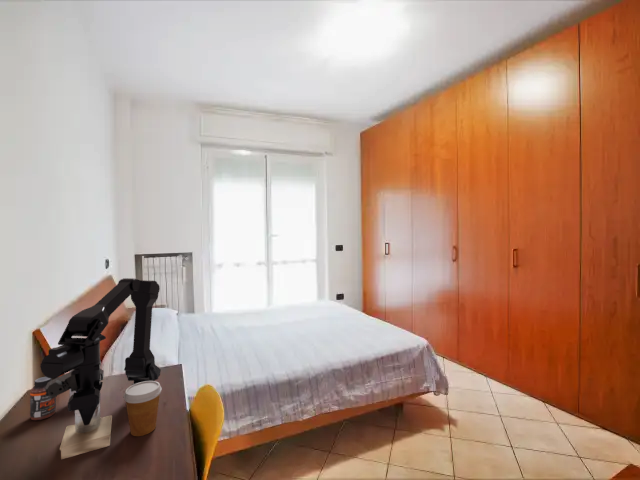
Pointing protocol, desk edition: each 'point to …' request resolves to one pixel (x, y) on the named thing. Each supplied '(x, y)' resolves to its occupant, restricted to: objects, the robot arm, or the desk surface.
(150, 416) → the disposable coffee cup
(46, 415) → the supplement bottle
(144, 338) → the robot arm
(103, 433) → the oak box
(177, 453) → the desk surface
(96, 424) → the tin
